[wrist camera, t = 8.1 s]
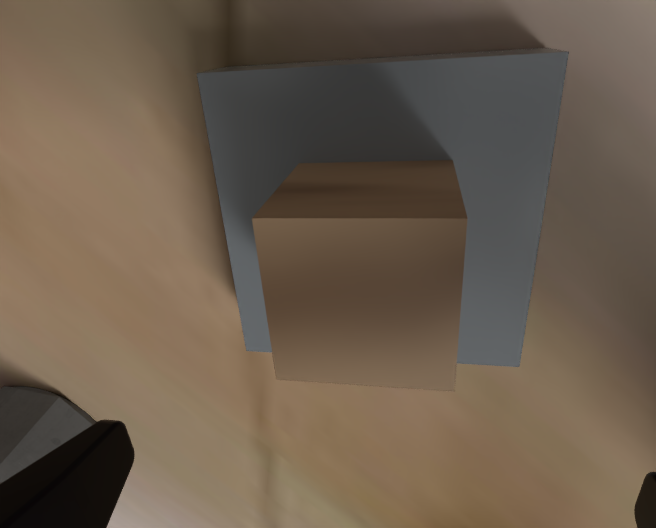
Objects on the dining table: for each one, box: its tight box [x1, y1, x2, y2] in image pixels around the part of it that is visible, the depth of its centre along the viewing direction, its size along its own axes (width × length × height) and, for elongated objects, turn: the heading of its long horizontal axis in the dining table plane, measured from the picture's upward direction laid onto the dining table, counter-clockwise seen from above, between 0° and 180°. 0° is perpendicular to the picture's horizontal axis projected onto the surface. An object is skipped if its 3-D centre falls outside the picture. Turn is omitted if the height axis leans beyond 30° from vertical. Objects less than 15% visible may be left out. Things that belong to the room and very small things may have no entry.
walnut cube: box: [252, 160, 468, 392], centre depth 14 cm, size 5×5×5 cm
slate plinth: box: [197, 48, 569, 367], centre depth 17 cm, size 11×11×2 cm
